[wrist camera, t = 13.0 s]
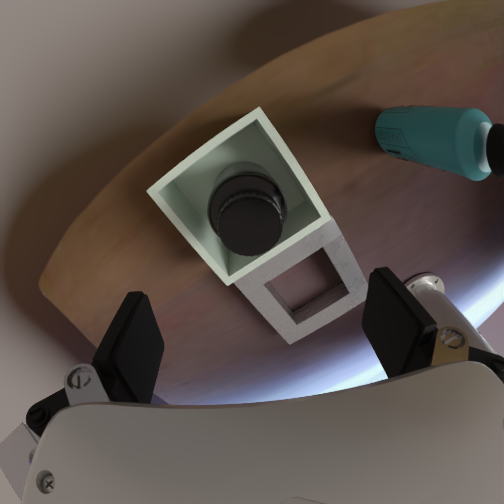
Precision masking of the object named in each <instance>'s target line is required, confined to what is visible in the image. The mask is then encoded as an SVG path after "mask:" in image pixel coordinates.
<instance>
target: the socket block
mask: <svg viewBox="0 0 504 504" xmlns="http://www.w3.org/2000/svg"><path fill="white" fill-rule="evenodd" d="M329 215H330V217H331V218H332V219H331V220H330V221H328V222H326V223H325V224H323V225H322V226H320V227H319V228H317V229H316V230H314V231H313V232H311V233H310V234H308V235H307V236H305V237H303V238H302V239H300V240H299V241H297V242H296V243H294V244H293V245H291V246H290V247H288V248H286V249H285V250H283V251H282V252H280V253H279V254H277V255H276V256H274V257H272V258H271V259H269V260H268V261H266V262H265V263H263V264H261V265H260V266H258V267H257V268H255V269H254V270H252V271H250V272H249V273H247V274H246V275H244V276H243V277H241V278H239V279H238V280H236V281H235V282H233V283H234V284H235V285H236V286H237V287H238V288H239V290H240V291H241V292H242V293H243V294H244V295H245V296H246V297H247V299H248V300H249V301H250V302H251V303H252V304H253V305H254V306H255V308H256V309H257V310H258V311H259V312H260V313H261V314H262V315H263V316H264V317H265V319H266V320H267V321H268V322H269V323H270V324H271V325H272V326H273V327H274V328H275V330H276V331H277V332H278V333H279V334H280V335H281V336H282V337H283V338H284V339H285V340H286V341H287V342H288V344H289V345H290V344H292V343H294V342H296V341H298V340H299V339H301V338H303V337H305V336H307V335H308V334H310V333H312V332H314V331H316V330H317V329H319V328H321V327H322V326H324V325H326V324H328V323H329V322H331V321H333V320H334V319H336V318H338V317H339V316H341V315H343V314H344V313H346V312H347V311H349V310H351V309H352V308H354V307H355V306H357V305H359V304H360V303H362V302H363V301H365V300H366V296H367V290H368V284H367V282H366V280H365V278H364V276H363V274H362V272H361V270H360V268H359V266H358V264H357V262H356V260H355V258H354V256H353V254H352V252H351V250H350V248H349V246H348V244H347V242H346V240H345V239H344V237H343V235H342V233H341V231H340V229H339V228H338V226H337V224H336V222H335V220H334V219H333V217H332V215H331V214H329ZM320 248H323V249H324V251H325V252H326V254H327V256H328V258H329V259H330V261H331V263H332V264H333V266H334V268H335V269H336V271H337V273H338V275H339V276H340V278H341V280H342V282H341V283H340V284H338V285H337V286H335V287H333V288H332V289H330V290H329V291H327V292H325V293H324V294H322V295H321V296H319V297H317V298H316V299H314V300H312V301H311V302H309V303H307V304H306V305H304V306H302V307H301V308H299V309H297V310H296V311H294V312H292V310H291V309H290V308H289V307H288V305H287V304H286V303H285V302H284V300H283V299H282V298H281V297H280V295H279V294H278V293H277V292H276V290H275V289H274V288H273V287H272V285H271V284H270V283H269V282H268V281H270V280H271V279H273V278H275V277H276V276H278V275H279V274H281V273H283V272H284V271H286V270H287V269H289V268H291V267H292V266H294V265H295V264H297V263H298V262H300V261H302V260H303V259H305V258H306V257H308V256H309V255H311V254H313V253H314V252H316V251H317V250H319V249H320Z"/></svg>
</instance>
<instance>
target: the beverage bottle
mask: <svg viewBox="0 0 504 504" xmlns="http://www.w3.org/2000/svg"><path fill="white" fill-rule="evenodd" d="M410 106H415V105H410ZM388 108H389V107H388ZM375 134H376V138H377V141H378V143H379V145H380V146H381V148H382V149H383V150H384V151H385V152H387V153H388V154H389V155H392V156H391V157H393V156H395V157H399V158H398V159H400V158H403V159H402V160H406V159H407V160H406V161H408V160H409V161H415V162H416V163H417V162H418V163H421V164H425V165H427V166H428V165H429V167H430V166H432V167H435V168H439V169H442V170H444V172H445V170H446V171H450V172H453V173H456V174H459V175H462V176H465V177H467V178H469V179H471V180H473V181H481V180H483V179H485V178H486V177H487V176H488V175H489V174H490V173H491V172H493V173H494V174H495V175H497V176H499V177H503V178H504V125H503V124H498V123H496V124H494V125H492V123H491V121H490V120H489V118H488V117H487V116H486V115H485V114H484V113H483V112H482V111H480V110H479V109H476V108H453V107H431V106H422V105H421V106H417V107H408V106H407V107H404V106H403V107H401V106H400V107H393V108H389V109H387V108H386V110H385V111H383V112H382V113H381V114H380V115H379V117H378V118H377V121H376V125H375ZM413 163H414V162H413ZM418 163H417V164H418ZM425 165H424V166H425Z"/></svg>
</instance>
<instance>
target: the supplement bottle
mask: <svg viewBox="0 0 504 504" xmlns="http://www.w3.org/2000/svg"><path fill="white" fill-rule="evenodd" d="M287 213H288V207H287V201H286V197H285V195H284V193H283V191H282V189H281V188H280V186H279V185H278V184H277V182H276V181H275V180H274V179H273V178H272V176H271V175H270V174H269V173H268V172H267V171H266V170H265V169H264V168H263V167H261V166H260V165H258V164H256V163H253V162H247V161H241V162H236V163H233V164H230V165H229V166H227V167H225V168H224V169H223V170H222V171H221V172H220V173H219V175H218V176H217V178H216V180H215V182H214V185H213V188H212V191H211V194H210V197H209V200H208V205H207V216H208V221H209V224H210V226H211V228H212V230H213V232H214V233H215V234H216V236H217V237H218V238H219V239H220V240H221V242H223V243H224V246H225V247H227V248H228V250H230V251H232V252H233V253H235V254H238V255H244V256H246V257H247V256H251V257H253V256H255V255H256V256H259V255H260V254H264V253H265V252H266V251H270V249H271V248H272V247H274V246H275V244H276V243H277V242H278V241H279V238H280V237H281V233H282V231H283V227H284V225H285V222H286V219H287Z"/></svg>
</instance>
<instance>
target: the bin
mask: <svg viewBox="0 0 504 504" xmlns="http://www.w3.org/2000/svg"><path fill="white" fill-rule="evenodd" d="M241 161H247V162H253V163H256V164H258V165H260V166H261V167H263V168H264V169H265V170H266V171H267V172H268V173H269V174H270V175H271V176H272V178H273V179H274V180H275V181H276V182H277V184H278V185H279V186H280V188H281V189H282V191H283V193H284V195H285V197H286V201H287V207H288V213H287V219H286V222H285V225H284V227H283V231H282V233H281V237H280V238H279V241H278V242H277V243H276V244H275V246H274V247H272V248H271V249H270V251H266V252H265V253H264V254H260V255H259V256H256V255H255V256H253V257H251V256H247V257H246V256H244V255H238V254H235V253H233V252H232V251H230V250H228V248H227V247H225V246H224V243H223V242H221V240H220V239H219V238H218V237H217V236H216V234H215V233H214V232H213V230H212V228H211V226H210V224H209V221H208V216H207V205H208V200H209V197H210V194H211V191H212V188H213V185H214V182H215V180H216V178H217V176H218V175H219V173H220V172H221V171H222V170H223V169H224V168H225V167H227V166H229V165H230V164H233V163H236V162H241ZM147 193H148V194H149V195H150V196H151V198H152V199H153V200H154V201H155V203H156V204H157V205H158V206H159V207H160V209H161V210H162V211H163V212H164V213H165V215H166V216H167V217H168V218H169V219H170V221H171V222H172V223H173V224H174V225H175V227H176V228H177V229H178V230H179V231H180V233H181V234H182V235H183V236H184V237H185V238H186V240H187V241H188V242H189V243H190V244H191V245H192V247H193V248H194V249H195V250H196V251H197V252H198V254H199V255H200V256H201V257H202V258H203V259H204V260H205V262H206V263H207V264H208V265H209V266H210V267H211V268H212V270H213V271H214V272H215V273H216V274H217V275H218V276H219V277H220V279H221V280H222V281H223V282H224V283H225V284H226V285H227V286H228V285H230V284H231V283H233V282H235V281H236V280H238V279H239V278H241V277H243V276H244V275H246V274H247V273H249V272H250V271H252V270H254V269H255V268H257V267H258V266H260V265H261V264H263V263H265V262H266V261H268V260H269V259H271V258H272V257H274V256H276V255H277V254H279V253H280V252H282V251H283V250H285V249H286V248H288V247H290V246H291V245H293V244H294V243H296V242H297V241H299V240H300V239H302V238H303V237H305V236H307V235H308V234H310V233H311V232H313V231H314V230H316V229H317V228H319V227H320V226H322V225H323V224H325V223H326V222H328V221H330V220H331V219H332V218H331V217H330V215H329V213H328V211H327V210H326V208H325V206H324V204H323V203H322V201H321V199H320V198H319V196H318V194H317V193H316V191H315V189H314V188H313V186H312V184H311V183H310V181H309V180H308V178H307V176H306V175H305V173H304V172H303V170H302V168H301V167H300V165H299V164H298V162H297V161H296V159H295V158H294V156H293V155H292V153H291V151H290V150H289V148H288V147H287V145H286V144H285V142H284V141H283V140H282V138H281V137H280V135H279V134H278V132H277V131H276V129H275V128H274V126H273V125H272V124H271V122H270V121H269V119H268V118H267V117H266V115H265V114H264V112H263V111H262V110H261V108H260V107H258V108H257V109H255V110H253V111H252V112H250V113H249V114H247V115H246V116H244V117H243V118H241V119H240V120H238V121H237V122H235V123H234V124H232V125H231V126H229V127H228V128H226V129H225V130H223V131H222V132H221V133H219V134H218V135H216V136H215V137H214V138H212V139H211V140H209V141H208V142H207V143H205V144H204V145H203V146H201V147H200V148H199V149H197V150H196V151H195V152H193V153H192V154H191V155H189V156H188V157H187V158H186V159H184V160H183V161H182V162H180V163H179V164H178V165H177V166H175V167H174V168H173V169H172V170H170V171H169V172H168V173H167V174H166V175H164V176H163V177H162V178H161V179H160V180H158V181H157V182H156V183H155V184H154V185H153V186H151V187H150V188H149V189H148V190H147Z"/></svg>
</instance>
